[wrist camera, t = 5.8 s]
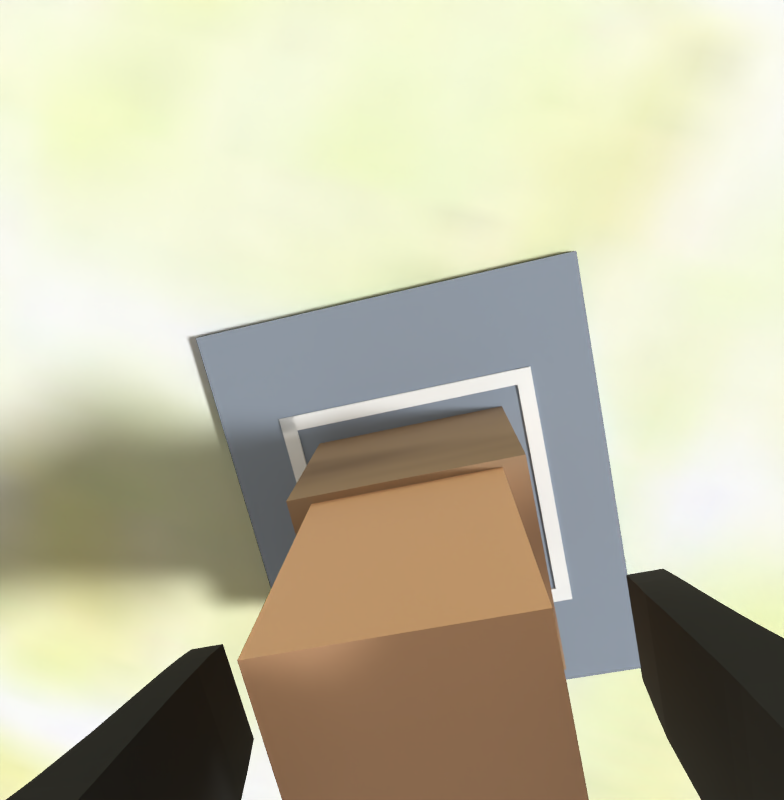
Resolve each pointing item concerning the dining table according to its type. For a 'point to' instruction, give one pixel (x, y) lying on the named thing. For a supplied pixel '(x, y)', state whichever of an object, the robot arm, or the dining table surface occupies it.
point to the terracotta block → (413, 653)
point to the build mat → (440, 398)
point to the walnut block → (423, 467)
